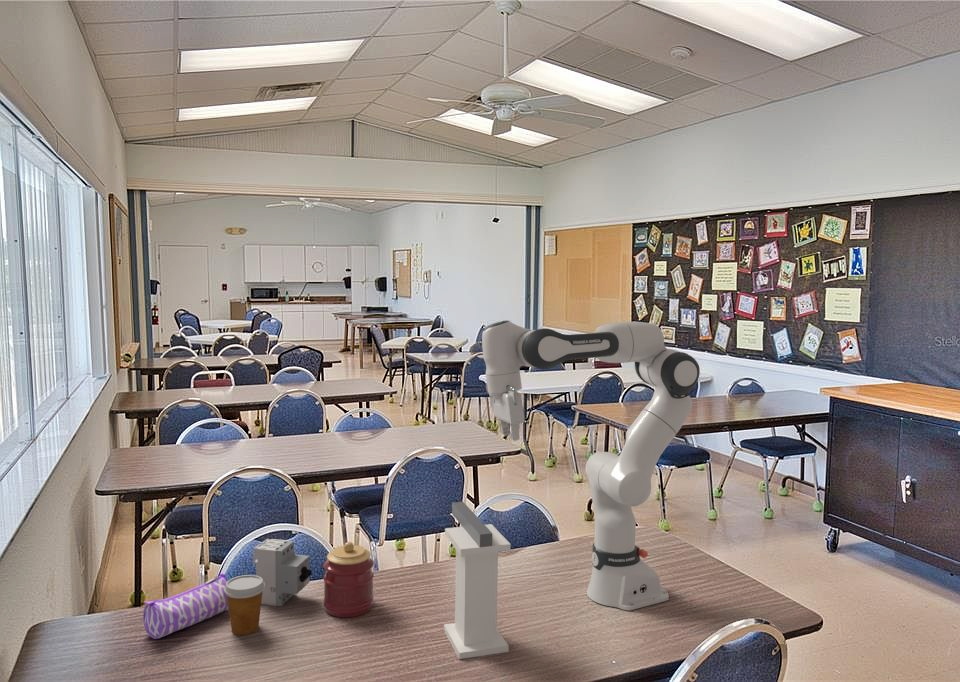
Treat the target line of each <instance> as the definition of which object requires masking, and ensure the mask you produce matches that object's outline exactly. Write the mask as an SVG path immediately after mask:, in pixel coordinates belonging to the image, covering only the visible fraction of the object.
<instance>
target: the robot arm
mask: <svg viewBox="0 0 960 682" xmlns="http://www.w3.org/2000/svg"><path fill="white" fill-rule="evenodd" d="M481 343H482V344H481V347H482V356H483V361H484V362H485V368H486V369H485V378H486V380H485V381H486V382H485V389H486V392H487V393H488V394H489V400H490V406H491V411H492V413H493V416H494V417H495V418H497V419H499V424H500V427H501V431H502V435H503V436H506V437H507V436H510V437H511V440H512V441H514V442H515V441H519V440H520V428H521V427H520V424H524V422H525V413H524V406H523V402H522V400H523V399H522V397H521V394H520V393H519V391H520V390H522V389H523V386H522V379H521V371H520V368H522V367H529V368H536V369H539V370H550V369H553V368H555V367H557V366H558V365H559V366H560V364H562V363H564V362H566V361H570V360H580V359H581V360H582V359H591V358H592V359H598V360H599V361H600V362H603V363H607V364H608V363H609V364H611V363H612V364H626V363H634V370H635V373H636V375H637V376H638V378H639V379H640V380H641V381H642V382H644V384H645V383H646V385H647V384H648V385H651V386H653V387H654V392H653V394H652V398H651V399H650V401H649V402H648V403H647V404H646V406H645V407H643V409H642V410H641V412H640V413H639V414H638V416H637V417H636V418H635V420H634V421H633V422H632V423H631V424H630V426H629V427H628V428H627V431H626V433H625V442H624V445H623V447H622V450H621V452H620V454H616V453H613V452H610V451H597V452H595V453H594V454H591V455H590V457H589V458H588V459H587V460H586V462H585V463H586V464H585V474H586V477H587V479H588V482H589V483H588V484H589V487H590V495H591V500H592V506H593V513H594V514H593V515H594V538H593V539H594V540H593V543H592V549H591V550H592V553H591V563H592V569H591V575H590V579H589V584H588V587H587V590H586V595H587V597H588V598H589V599H590V600H592V601H593V602H595V603H598V604H600V605H604V606H607V607H612V608H619V609H620V610H623V611H634V610H637V609H640V608H644V607H647V606H651V605H656V604H659V603H660V604H661V603H663V602H666V601H669V599H670V598H669V597H670V596H669V593H668V591H667V590H666V588H665V587H663V586H662V585H661V581H660V576H659V574H658V573H657V571H655V570H654V568H652V566H650V565H648V564H647V563H646V562H645V561H644V560H643V559H646V558H647V557H648V555H649V554H648V552H647V550H645V549H644V548H640V547H639V546H638V545H636V524H637V522H636V518H635V515H634V512H633V509H632V507H638V506H640V505H643V504H644V503H645V502H646V501H648V499H649V497H650V495H651V493H652V478H653V477H652V476H653V474H654V470H655V468H656V466H657V463H658V462H659V460H660V457H661V455H663V452H665V449H667V447H668V446H669V445H670V443H671V442H672V440H673V439H674V438H675V437H676V435H677V434H678V433H679V431H680V430H681V428H682V427H683V425H684V423H685V422H686V421H687V418H688V416H689V415H690V413H691V410H692V408H693V401H692V398H691V396H690V395H692V394H693V393H694V391H695V387H696V385H697V383H698V381H699V378H700V374H701V373H700V370H701V369H700V365H699V363H698V361H697V360H696V359H695V358H694V357H693V356H691V355H690V354H688V353H686V352H682V351H678V350H676V349H673V348H666V345H665V335H664V333H663V331H662V329H661V328H660V327H659V326H658V325H656V324H654V323H652V322H651V323H650V322H643V321H619V322H617V321H616V322H611V323H607V324H606V323H605V324H603V325H600V326H598V327H596V329H595V330H594V331H593V332H590V333H589V332H588V333H587V332H586V333H575V334H573V333H572V334H566V333H565V334H564V333H561V332H559V331H556V330H555V329H550V328H539V329H530V328H526V327H522V326H519V325H517V324H515V323H513V322H511V321H510V320H502V321H498V322H494V323H491V324H489V325H487V326H486V327H484V329H483V331H482V334H481ZM641 558H642V559H641Z"/></svg>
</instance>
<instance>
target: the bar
mask: <svg viewBox="0 0 960 682" xmlns="http://www.w3.org/2000/svg"><path fill="white" fill-rule="evenodd" d="M451 515H452V516H453V517H454V519H455V520H456V521H457V522H458V523H459V525H461V527H463V528H464V529H465V530H466V531H467V533H468V534H469V535H470V536H471V537H472V539H473V540H474V541H475V542H476V543H477V545H478V546H479V547H488V546H492V532H491V531H490V530H489V529H488V528H487V527H486V526H485V525H486V524H484V523H483V521H482V520H481V519H480V518H479V517H478V516H477V515H476V514H475V512H473V511H472V510H471V508H470V507H469V506H468V505H467V504H466V503H465V502H464V501H457V502H451Z"/></svg>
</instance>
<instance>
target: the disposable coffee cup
mask: <svg viewBox="0 0 960 682" xmlns="http://www.w3.org/2000/svg"><path fill="white" fill-rule="evenodd" d="M264 587H265V584H264V582H263V579H262V578H261V577H259V576H256V574H255V575H254V574H245V575H244V574H243V575H239V576H235V577H233V578H230V579H229V580H227V583H226V587H225V588H224V592H225V594H226V596H227V603H228V609H227V610H228V615H229V616H228V617H229V620H230V628H231V629H230V630H231V633H233V634H234V635H236V636H247V635H250V634H251V635H252V634H253V633H255V632H257V631H258V629H259V626H260V618H261V609H262V604H261V601H262V593H263V589H264Z"/></svg>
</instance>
